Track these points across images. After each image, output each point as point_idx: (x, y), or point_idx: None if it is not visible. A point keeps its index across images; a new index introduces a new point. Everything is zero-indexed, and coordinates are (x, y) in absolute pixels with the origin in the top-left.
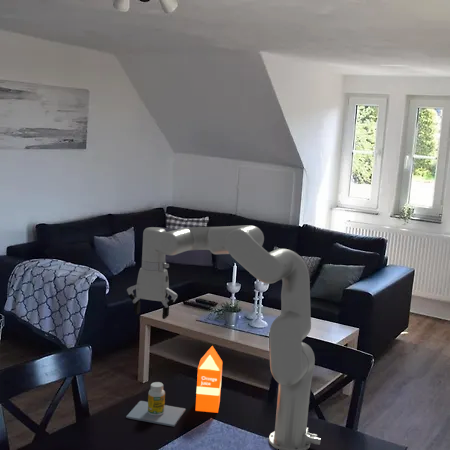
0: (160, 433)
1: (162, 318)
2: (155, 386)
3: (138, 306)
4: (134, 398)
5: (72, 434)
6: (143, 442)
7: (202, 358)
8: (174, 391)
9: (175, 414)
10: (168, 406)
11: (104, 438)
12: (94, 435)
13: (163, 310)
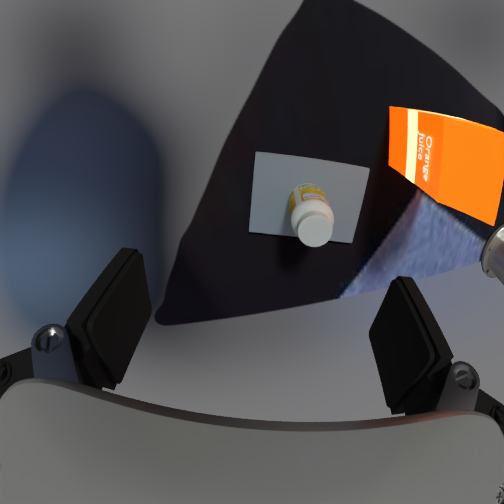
0: (328, 268)
1: (369, 332)
2: (313, 243)
3: (121, 337)
4: (235, 134)
5: (185, 298)
6: (303, 298)
7: (456, 138)
8: (325, 71)
9: (350, 201)
10: (330, 166)
11: (237, 300)
12: (218, 295)
13: (389, 392)
